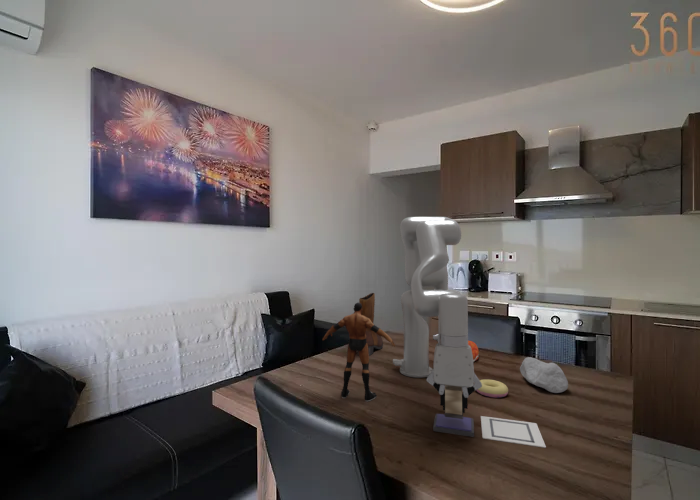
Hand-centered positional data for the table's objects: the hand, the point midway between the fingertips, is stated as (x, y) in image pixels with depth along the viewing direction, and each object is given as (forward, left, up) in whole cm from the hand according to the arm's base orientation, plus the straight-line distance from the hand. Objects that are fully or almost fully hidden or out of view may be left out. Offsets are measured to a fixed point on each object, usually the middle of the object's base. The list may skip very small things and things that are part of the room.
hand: (453, 408), depth 93 cm
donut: (+11, +27, -5) cm, 30 cm away
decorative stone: (+28, +39, -5) cm, 48 cm away
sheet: (+14, +2, -5) cm, 15 cm away
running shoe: (+2, +58, -5) cm, 58 cm away
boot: (-40, +64, -5) cm, 76 cm away
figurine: (-30, +11, -5) cm, 32 cm away
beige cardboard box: (0, 0, -1) cm, 1 cm away
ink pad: (0, 0, -5) cm, 5 cm away
